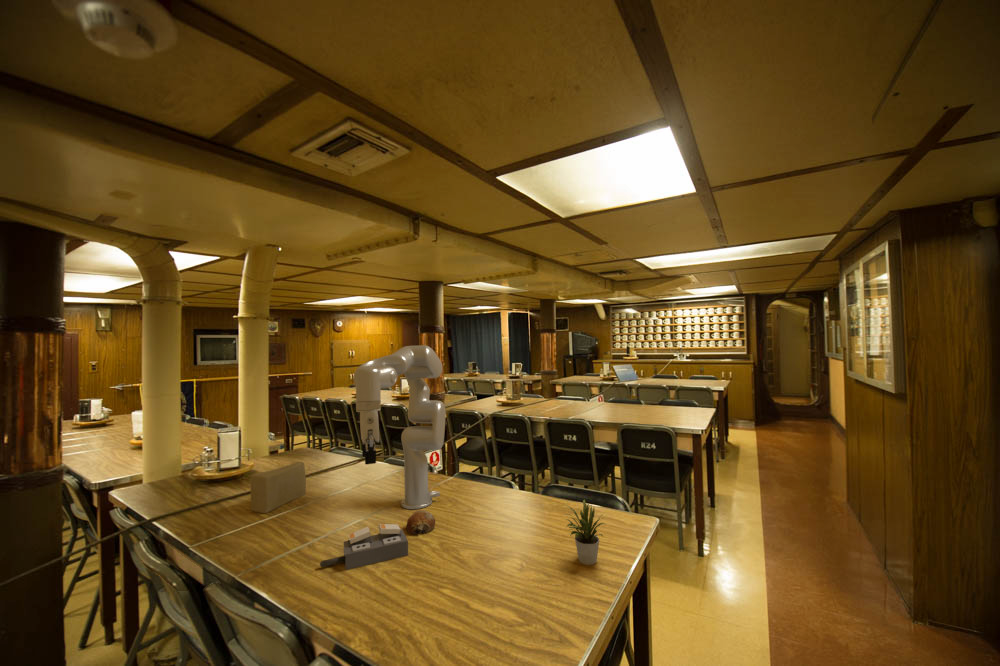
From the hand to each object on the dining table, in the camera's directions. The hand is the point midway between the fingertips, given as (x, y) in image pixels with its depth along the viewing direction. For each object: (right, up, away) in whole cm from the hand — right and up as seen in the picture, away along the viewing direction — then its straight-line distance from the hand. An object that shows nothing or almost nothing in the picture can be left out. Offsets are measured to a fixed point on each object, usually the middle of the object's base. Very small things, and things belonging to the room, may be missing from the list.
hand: (369, 460), depth 128 cm
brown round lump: (+14, -29, +14) cm, 35 cm away
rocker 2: (+6, -22, 0) cm, 23 cm away
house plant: (+67, -27, -9) cm, 73 cm away
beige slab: (-51, -32, +43) cm, 74 cm away
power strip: (0, -28, -5) cm, 29 cm away
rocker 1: (-2, -22, -4) cm, 22 cm away
